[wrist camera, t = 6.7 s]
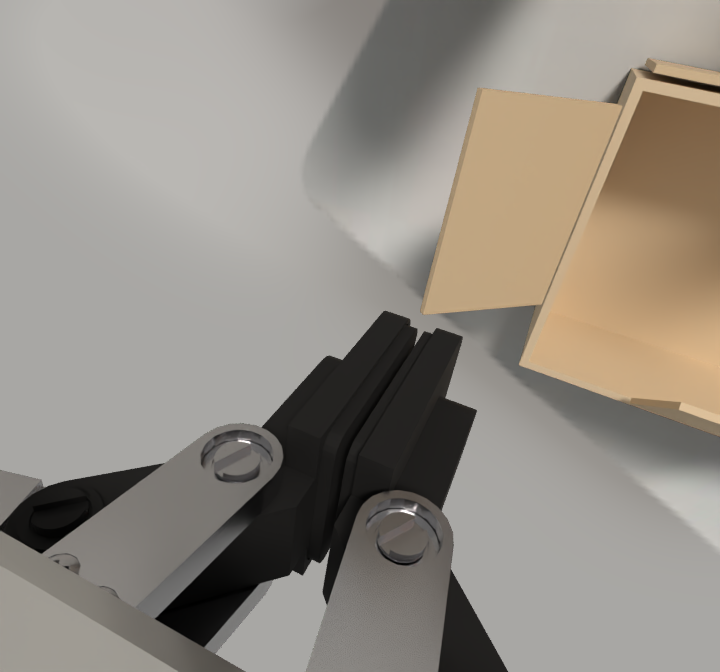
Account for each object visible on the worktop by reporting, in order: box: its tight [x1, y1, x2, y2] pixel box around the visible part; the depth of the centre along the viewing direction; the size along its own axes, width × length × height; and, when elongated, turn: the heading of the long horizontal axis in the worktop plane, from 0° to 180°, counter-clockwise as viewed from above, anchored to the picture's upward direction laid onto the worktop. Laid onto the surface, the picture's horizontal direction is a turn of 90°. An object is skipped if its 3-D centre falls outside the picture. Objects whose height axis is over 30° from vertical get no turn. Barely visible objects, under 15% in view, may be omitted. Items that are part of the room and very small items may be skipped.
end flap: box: [420, 88, 622, 315], centre depth 21 cm, size 1×9×7 cm
